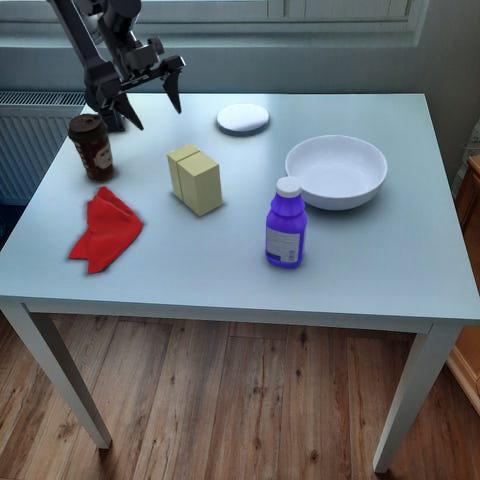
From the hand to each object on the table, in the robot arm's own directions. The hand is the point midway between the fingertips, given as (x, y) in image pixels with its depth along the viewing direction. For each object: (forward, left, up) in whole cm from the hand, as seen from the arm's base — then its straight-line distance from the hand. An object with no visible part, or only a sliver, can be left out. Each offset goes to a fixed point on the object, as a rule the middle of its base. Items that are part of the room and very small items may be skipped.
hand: (161, 121), depth 96 cm
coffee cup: (-4, -16, -13) cm, 21 cm away
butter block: (+11, +6, -13) cm, 18 cm away
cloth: (+15, -14, -13) cm, 24 cm away
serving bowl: (+12, +34, -13) cm, 39 cm away
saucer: (-19, +19, -13) cm, 30 cm away
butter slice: (+7, +4, -13) cm, 15 cm away
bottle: (+30, +20, -13) cm, 39 cm away
